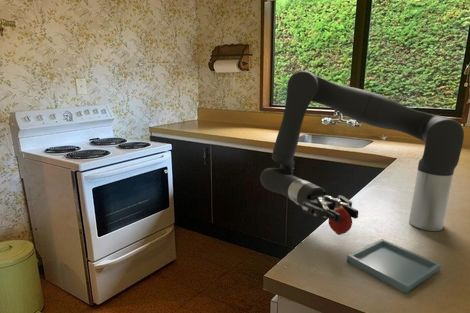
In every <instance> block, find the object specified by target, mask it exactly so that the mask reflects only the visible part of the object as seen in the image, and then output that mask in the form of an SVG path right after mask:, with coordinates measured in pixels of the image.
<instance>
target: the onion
mask: <svg viewBox="0 0 470 313" xmlns="http://www.w3.org/2000/svg"><path fill="white" fill-rule="evenodd" d="M335 209H336V208H335ZM335 212H337V213H339V214H340V215H341V220H340V222H339V223H336V222H335V221H332V220H331V219H329V218H328V225H329V227H330V229H331V230H332V231H333V232H335V234H336V235H338V236H340V235H344V234H346V233H347V232H349V231H350V230H351V228H352V225H353V219H352V217H351V216H350V214H349V213H348V212H347V211H346V210H345V209H344V208H343V207H342V206H339V208H338V209H336V210H335Z"/></svg>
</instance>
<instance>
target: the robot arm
mask: <svg viewBox="0 0 470 313" xmlns="http://www.w3.org/2000/svg"><path fill="white" fill-rule="evenodd" d="M286 85H287V86H286V87H287V89H286V99H285V100H286V101H285V107H284V112H283V117H282V120H281V123H280V127H279V130H278V133H277V135H276V140H275V142H274V146H273V150H272V153H271V159H272V160H273V161H274V162H275V163H277V164H279V165H280V167H278V168H277V167H267V168H265V169H264V170H263V171H262V172H261V174H260V183H261V185H262V187H263V188H264V189H266V190H268V191H270V192H272V193H275V194H280V195H283V196H285V197H286V198H287V199H289V200H291V201H293V203H295V204H296V205H298V206H300V207H301V208H302V211H301V212H302V213H305V214H307V215H309V216H312V217H314V218H316V219H322V217H323V218H325V219H328V220H329V219H331V220H332V221H335V222H336V223H339V222H340V220H341V215H340V214H339V213H337V212H335V210H336V209H338V208H339V206H342V207H343V208H344V209H345V210H346V211H347V212H348V213H349V214H350V216H351V218H353V219H355V220H356V219H358V218H359V210H357V209H356V208H354V207H353V202H352V201H351V200H349V199H348V198H346V197H345V196H343V195H338V196H337V198H335V197H334V196H331V195H328V194H327V193H326V190H325V189H324V188H322V187H320V186H319V185H317V184H314V183H312V182H310V181H308V180H305V179H302V178H300V177H297V176H295V175H293V172H294V171H293V169H294V168H293V166H294V158H295V154H296V150H297V147H298V144H299V140H300V134H301V131H302V130H301V128H302V125H303V122H304V118H305V115H306V112H307V110H308V107H309V106H310V105H311V104H310V103H315V104H319V105H323V106H326V107H329V108H331V109H333V110H334V111H336V112H338V113H339V114H342V115H344V116H346V117H348V118H350V119H352V120H354V121H357V122H360V123H363V124H365V125H368V126H372V127H376V128H379V129H385V130H390V131H391V130H392V131H397V132H401V133H404V134H406V135H409V136H411V137H414V138H416V139H418V140H420V141H421V142H424V143H425V145H424V150H423V153H422V154H423V155H422V156H421V159H420V160H419V161H418V164H417V165H418V166H417V170H416V171H417V172H416V175H415V176H416V177H415V183H414V188H413V193H412V194H413V195H412V200H411V206H410V213H409V218H408V222H409V224H411V225H412V226H414V227H415V228H418V229H420V230H423V231H430V232H439V231H443V229H444V228H443V227H444V224H445V219H446V213H447V208H448V202H449V198H450V193H451V192H450V191H451V188H452V183H453V177H454V172H455V168H456V167H457V166H458V164H459V160H460V156H461V152H462V148H463V144H464V138H465V133H464V132H465V131H464V128H463V126H462V125H461V123H459V122H458V121H456V120H455V119H453V118H449V117H448V116H442V115H436V114H432V113H428V112H424V111H420V110H415V109H413V108H410V107H407V106H406V105H403V104H402V103H400V102H398V101H396V100H393V99H391V98H388V97H386V96H383V95H381V94H378V93H375V92H371V91H368V90H366V89H365V90H364V89H361V88H357V87H353V86H348V85H342V84H338V83H335V82H332V81H330V80H328V79H326V78H323V77H320V76H319V75H316V74H315V73H313V72H311V71H309V70H299V71H296V72H294V73H293V74H292V75H291V76H290V77H289V78H288V80H287V83H286Z"/></svg>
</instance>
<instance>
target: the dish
mask: <svg viewBox="0 0 470 313" xmlns="http://www.w3.org/2000/svg"><path fill="white" fill-rule="evenodd" d="M346 258H347V259H346V262H347V263H349V264H350V265H352V266H354V267H356V268H358V269H359V270H361V271H363V272H364V273H366V274H368V275H369V276H373V277H374V278H376V279H377V280H380V281H381V282H384V283H385V284H387V285H389V286H391V287H393V288H395V289H396V290H398V291H400V292H402V293H404V294H406V295H408V294H409V293H411V292H412V291H414V290H416V288H418V287H420V286H421V285H423V284H424V283H425V282H427V281H428V280H430V279H431V278H433V277H434V276H436V275H437V274H439V273H440V272H441V267H442V264H440V263H438V262H436V261H433V260H431V259H429V258H426V257H424V256H422V255H419V254H417V253H415V252H412V251H410V250H408V249H406V248H404V247H401V246H399V245H397V244H394V243H393V242H390V241H387V240H385V239H379V240H377V241H375V242H373V243H371V244H369V245H367V246H365V247H362V248H360V249H358V250H356V251H354V252H351V253H349V254H347V257H346ZM432 276H433V277H432ZM429 278H430V279H429ZM426 280H427V281H426Z"/></svg>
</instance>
